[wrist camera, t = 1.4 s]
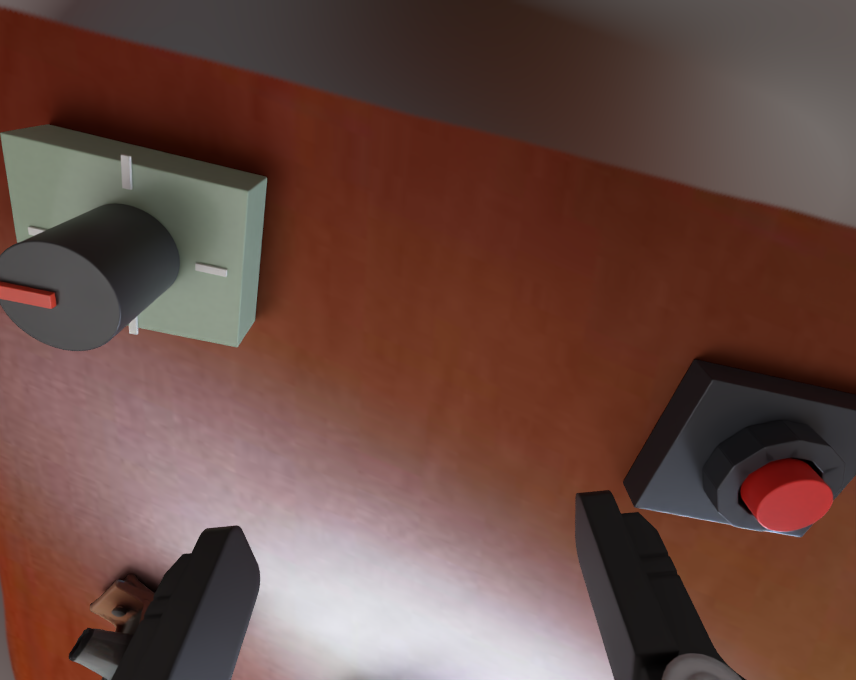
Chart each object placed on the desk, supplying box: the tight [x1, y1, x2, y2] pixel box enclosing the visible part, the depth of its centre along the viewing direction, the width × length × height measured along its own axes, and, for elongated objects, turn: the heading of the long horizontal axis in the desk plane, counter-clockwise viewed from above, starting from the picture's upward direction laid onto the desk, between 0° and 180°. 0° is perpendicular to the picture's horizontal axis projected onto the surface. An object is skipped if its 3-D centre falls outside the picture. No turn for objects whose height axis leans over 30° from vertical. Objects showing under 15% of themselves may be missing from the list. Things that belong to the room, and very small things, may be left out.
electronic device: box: [69, 574, 155, 680], centre depth 37 cm, size 4×10×8 cm, turn 46°
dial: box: [0, 204, 180, 351], centre depth 21 cm, size 4×4×6 cm
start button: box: [740, 458, 833, 532], centre depth 28 cm, size 4×4×2 cm
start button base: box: [623, 359, 856, 537], centre depth 31 cm, size 12×10×4 cm
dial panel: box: [0, 124, 267, 347], centre depth 24 cm, size 10×9×3 cm
